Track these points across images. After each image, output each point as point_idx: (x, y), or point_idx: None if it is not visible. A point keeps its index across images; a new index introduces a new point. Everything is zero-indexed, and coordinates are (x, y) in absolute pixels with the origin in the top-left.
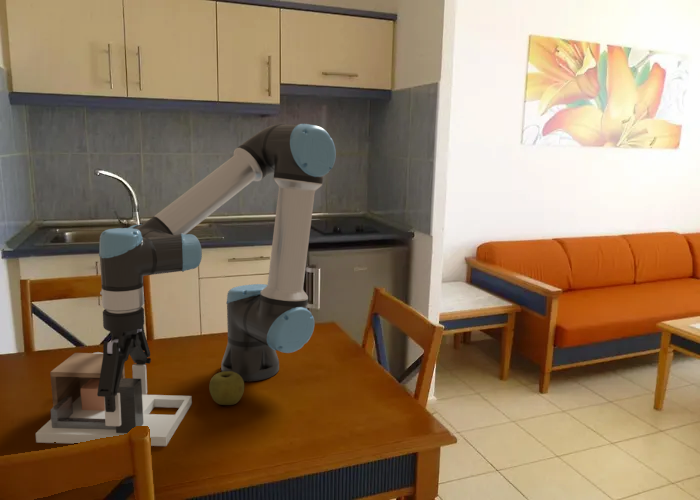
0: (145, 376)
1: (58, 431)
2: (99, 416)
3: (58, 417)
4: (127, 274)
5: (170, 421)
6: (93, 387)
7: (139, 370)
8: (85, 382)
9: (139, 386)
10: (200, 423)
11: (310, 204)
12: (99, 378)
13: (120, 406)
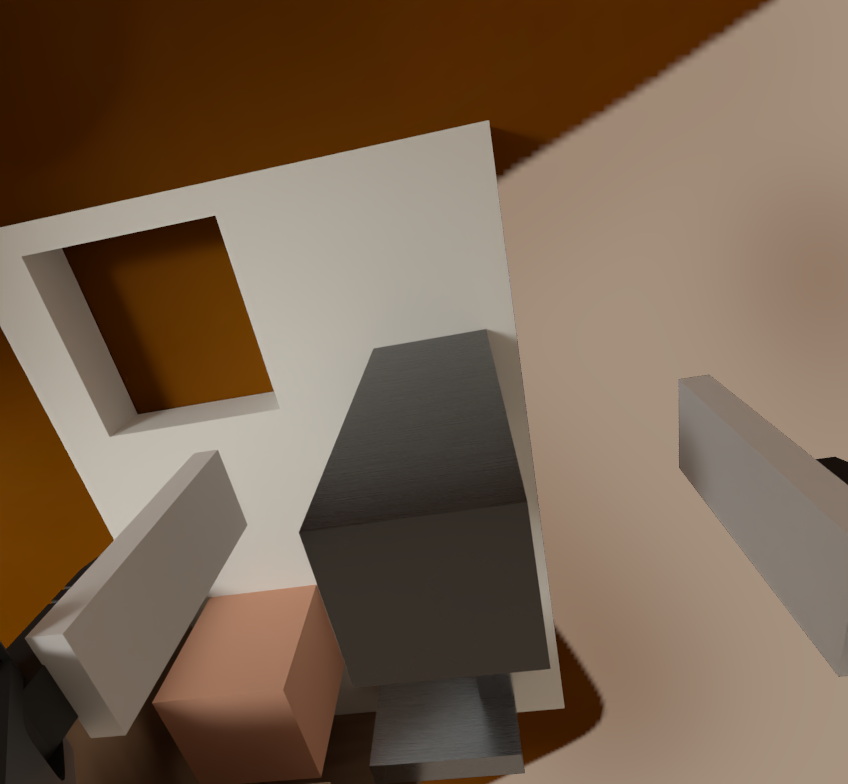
0: (135, 542)
1: None
2: None
3: (503, 708)
4: None
5: (299, 198)
6: (286, 737)
7: (127, 633)
8: None
9: (367, 485)
10: (172, 38)
11: None
12: (163, 755)
13: (758, 449)
